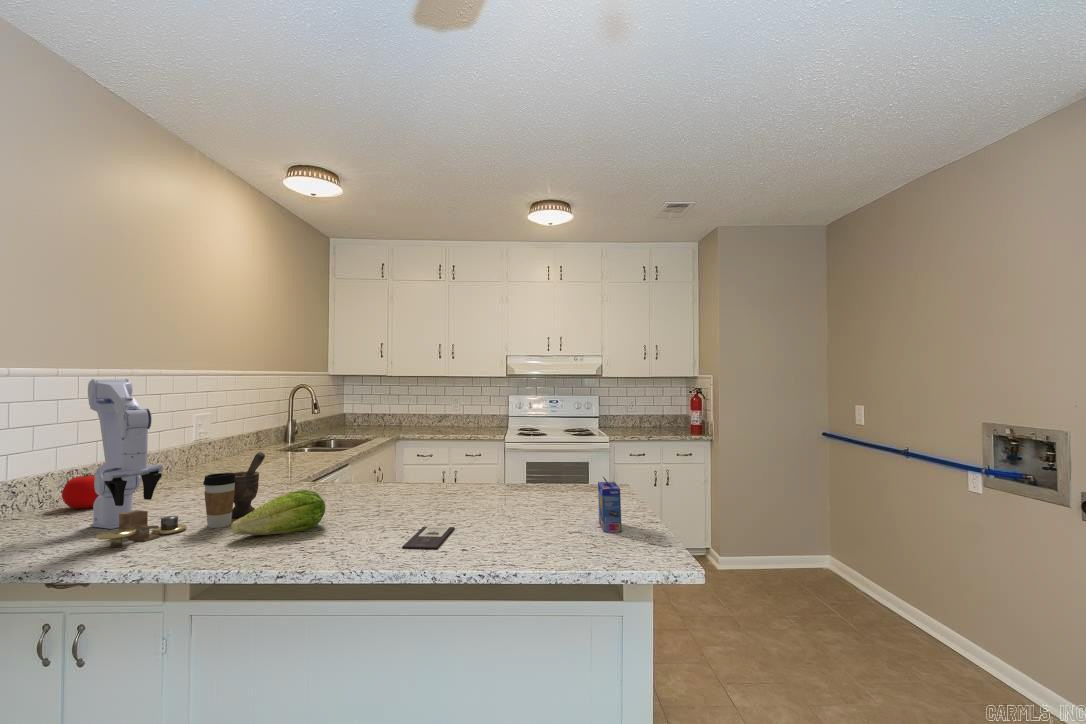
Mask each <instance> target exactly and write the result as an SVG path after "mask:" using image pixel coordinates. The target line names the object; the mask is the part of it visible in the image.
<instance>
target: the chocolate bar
mask: <svg viewBox="0 0 1086 724" xmlns="http://www.w3.org/2000/svg"><path fill="white" fill-rule="evenodd" d="M453 531H455V527H454V526H422V527H421V528H420V529H419V530H418V531H417V532H416V533H415V534H414V535H412V537H410V538H409V539H408V541H406V542H405V543H404V544H403V545H402V547H401V549H402V550H403V549H404V550H434V551H436V550H437V551H438V549H439V548H440V546H441V545H443V543H444V542H445V541H446V539H448V537H449V536H450V535H451V534H452V533H453Z"/></svg>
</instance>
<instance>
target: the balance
mask: <svg viewBox="0 0 1086 724" xmlns="http://www.w3.org/2000/svg"><path fill="white" fill-rule="evenodd" d="M186 529H187V525H186V524H179V516H178V515H168V516H163V517H161V518H160V526H159V525H157V524H156V525H154V524H153V525H147V526H135V527H130V528H122V529H119V528H114V529H110V530H105V531H102V532H99V533H97V534H96V535H95V537H96V539H98V540H109V541H110V543H109V546H110V549H115V548H121V547H122V546H123V538H125V537H126V536H129V535H132V534H134V533H136V530H139V535H135V536H131V537H126V538H128V539H127V540H130V541H137V542H143V543H145V542H149V541H152V540H155V539H158V538H161V537H160V535H168V534H174V533H180V532H182V531H185V530H186ZM150 530H151V533H150Z"/></svg>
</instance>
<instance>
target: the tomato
mask: <svg viewBox="0 0 1086 724" xmlns="http://www.w3.org/2000/svg"><path fill="white" fill-rule="evenodd" d="M94 481H95V474H89V473H86V474H83V475H79V476H76V477H75V476H74V477H72V478H70V479H69V480H68V481H67V483H66V484H65V485H64V487H63V489H62V491H61V498H62V501H63V502H64V504H65V505H67V506H68V507H70V508H73V509H80V510H81V509H91V508H92V509H93V505H94V502H95V500H96V498H97V497H98V496H100V495H98V494H96V492H95V488H94Z"/></svg>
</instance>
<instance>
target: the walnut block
mask: <svg viewBox="0 0 1086 724" xmlns="http://www.w3.org/2000/svg"><path fill="white" fill-rule="evenodd" d="M148 515H149V512H148V510H143V509H142V510H141V509H133V511H129V512H125V513H121V514H119V527H118V529H122V528H130V527H135V526H148V517H149V516H148ZM135 535H139V530H136V533H134V534H132V535H129V536H126V538H128V537H131V536H135Z"/></svg>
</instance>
